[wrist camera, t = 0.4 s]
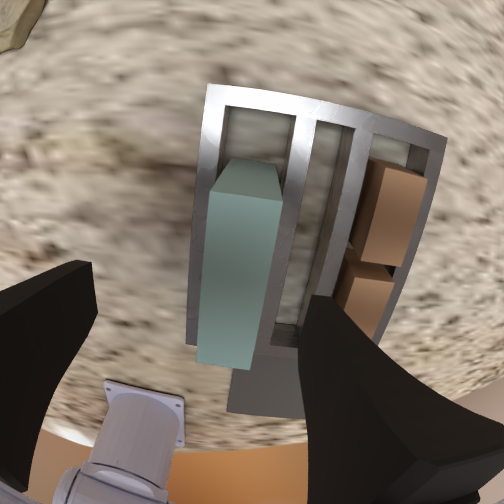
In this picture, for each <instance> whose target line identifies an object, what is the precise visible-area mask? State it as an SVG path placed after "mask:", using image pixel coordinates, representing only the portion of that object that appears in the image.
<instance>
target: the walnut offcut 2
mask: <svg viewBox="0 0 504 504" xmlns="http://www.w3.org/2000/svg"><path fill="white" fill-rule="evenodd" d="M394 284H395V282H394V281H393V279H392V277H391V276H390V274H389V273H388V271H387V270H386V268H385V267H384V265H383V264H379V263H372V262H366V261H360V259H359V257H358V256H357V254H356V252H355V250H354V249H349V248H346V249H345V253H344V256H343V260H342V263H341V267H340V270H339V274H338V277H337V280H336V283H335V287H334V290H333V293H332V296H331V298H332V299H333V300H334V301H335V302H336V303H337V304H338V305H339V306H340V307H341V308H342V309H343V310H344V311H345V312H346V314H347V315H348V316H349V317H350V318H351V319H352V320H353V321H354V322H355V323H356V325H357V326H358V327H359V328H360V329H361V330H362V331H363V332H364V333H365V334H366V335H367V336H368V337H369V338H370V339H371V340H372V337H373V335H374V333H375V331H376V328H377V326H378V324H379V321H380V319H381V317H382V314H383V312H384V309H385V307H386V304H387V302H388V300H389V297H390V294H391V292H392V289H393V287H394Z"/></svg>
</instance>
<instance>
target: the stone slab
mask: <svg viewBox="0 0 504 504" xmlns="http://www.w3.org/2000/svg"><path fill="white" fill-rule="evenodd" d="M44 2H45V0H0V54H1V52H3V51H6V50H9V49H12V48H15V49H19V48H20V47H21V46H23V45H24V44H25V41H26V39H27V36H28V34H29V31H30V30H31V28H32V27H33V26H34V24H35V22H36V21H37V19H38V18H39V17H40V15H41V13H42V10H43V6H44Z"/></svg>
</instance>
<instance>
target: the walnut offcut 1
mask: <svg viewBox="0 0 504 504" xmlns="http://www.w3.org/2000/svg"><path fill="white" fill-rule="evenodd" d="M427 180H428V179H427V178H425V177H423V176H421V175H419V174H417V173H415V172H413V171H411V170H409V169H407V168H405V167H402V166H400V165H398V164H394V163H390V162H386V161H383V160H379V159H375V158H371V157H368V161H367V166H366V170H365V175H364V179H363V183H362V187H361V192H360V196H359V200H358V204H357V208H356V212H355V216H354V220H353V224H352V227H351V231H350V235H349V238H348V240H349V242H350V244H351V245H352V247H353V249H354V250H355V252H356V254H357V256H358V257H359V259H360V261H366V262H372V263H379V264H385V265H392V266H398V267H401V265H402V263H403V260H404V257H405V254H406V251H407V248H408V245H409V242H410V239H411V236H412V233H413V230H414V226H415V223H416V220H417V217H418V213H419V210H420V206H421V203H422V199H423V196H424V192H425V188H426V184H427Z"/></svg>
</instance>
